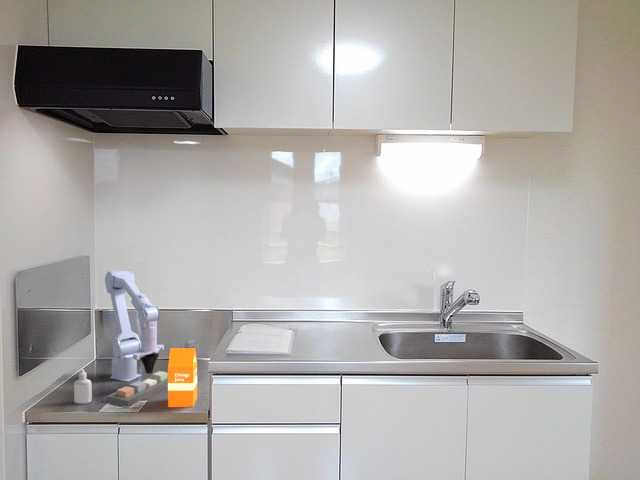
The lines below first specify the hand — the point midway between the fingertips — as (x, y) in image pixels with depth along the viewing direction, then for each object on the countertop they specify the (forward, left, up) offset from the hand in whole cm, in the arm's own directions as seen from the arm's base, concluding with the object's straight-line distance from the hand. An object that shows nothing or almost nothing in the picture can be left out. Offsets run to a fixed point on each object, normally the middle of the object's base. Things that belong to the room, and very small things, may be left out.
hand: (149, 372), depth 185 cm
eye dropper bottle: (-12, -20, -6) cm, 24 cm away
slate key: (0, -6, -5) cm, 8 cm away
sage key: (0, +6, -5) cm, 8 cm away
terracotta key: (0, -12, -5) cm, 13 cm away
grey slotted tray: (0, -3, -6) cm, 7 cm away
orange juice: (+20, -5, -6) cm, 22 cm away
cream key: (0, 0, -6) cm, 6 cm away
